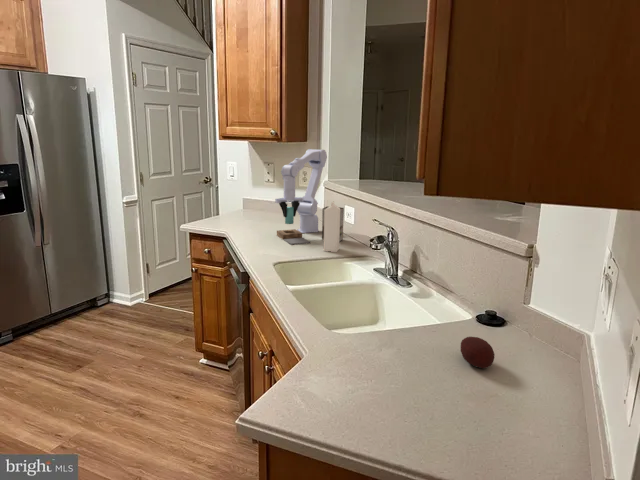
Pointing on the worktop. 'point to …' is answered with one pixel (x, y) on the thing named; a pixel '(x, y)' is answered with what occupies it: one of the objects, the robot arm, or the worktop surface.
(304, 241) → the mat
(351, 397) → the worktop surface
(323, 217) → the coffee box
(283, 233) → the socket block
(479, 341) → the potato
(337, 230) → the milk
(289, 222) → the plug
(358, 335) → the worktop surface
